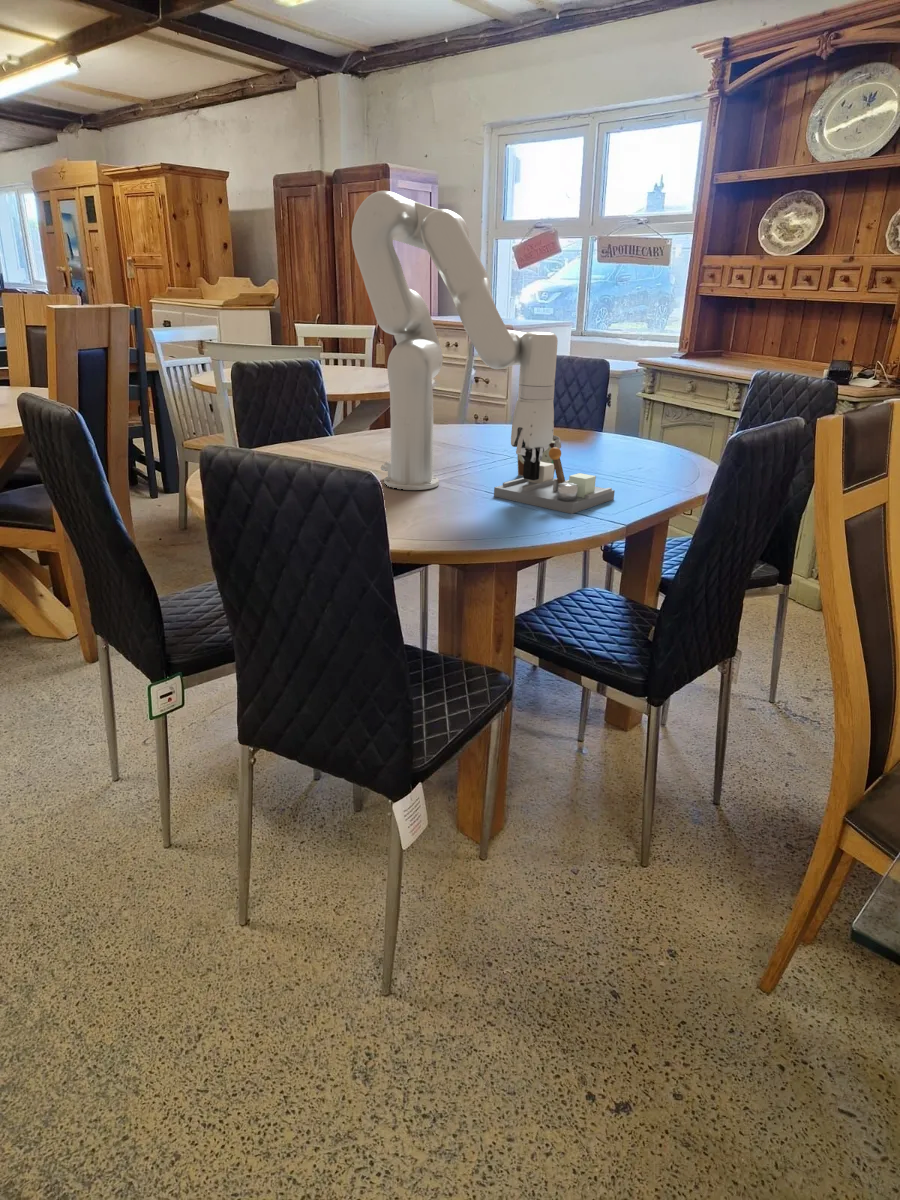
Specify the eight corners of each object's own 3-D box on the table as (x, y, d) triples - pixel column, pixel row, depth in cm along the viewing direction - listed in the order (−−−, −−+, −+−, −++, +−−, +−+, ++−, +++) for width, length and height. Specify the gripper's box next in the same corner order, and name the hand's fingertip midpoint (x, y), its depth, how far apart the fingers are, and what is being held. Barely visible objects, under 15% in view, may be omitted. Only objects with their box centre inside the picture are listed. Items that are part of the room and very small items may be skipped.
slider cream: (528, 481, 171) (529, 463, 170) (538, 478, 174) (539, 461, 173) (543, 484, 169) (544, 466, 167) (553, 481, 172) (554, 464, 170)
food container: (568, 479, 184) (572, 437, 180) (553, 483, 180) (557, 440, 176) (528, 471, 192) (530, 430, 188) (513, 474, 187) (515, 433, 184)
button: (553, 499, 157) (554, 484, 156) (564, 495, 160) (565, 481, 159) (570, 502, 154) (571, 488, 153) (580, 499, 157) (581, 484, 156)
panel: (493, 496, 166) (494, 476, 165) (538, 484, 178) (539, 465, 177) (572, 513, 154) (574, 492, 152) (614, 499, 166) (616, 479, 165)
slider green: (567, 494, 161) (569, 475, 159) (577, 491, 164) (579, 473, 162) (584, 497, 158) (585, 478, 157) (594, 494, 161) (595, 476, 160)
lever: (554, 490, 164) (545, 451, 158) (561, 482, 166) (551, 443, 159) (565, 492, 163) (555, 452, 156) (571, 484, 164) (562, 445, 157)
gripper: (541, 389, 169) (536, 471, 176) (500, 394, 158) (496, 481, 165) (570, 392, 164) (563, 476, 171) (530, 398, 154) (524, 487, 161)
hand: (530, 478), depth 168 cm, fingers closed
